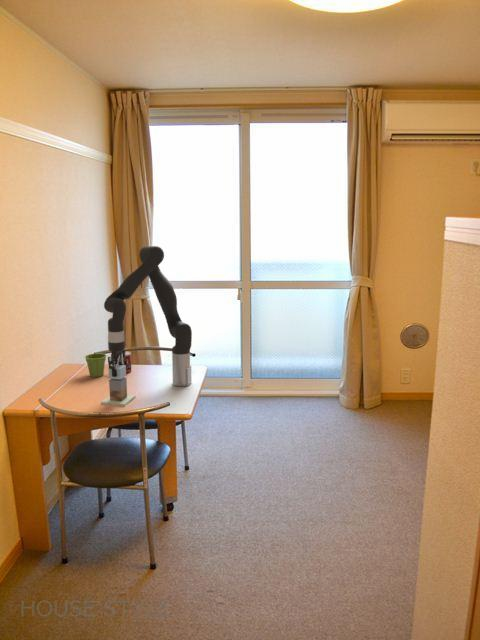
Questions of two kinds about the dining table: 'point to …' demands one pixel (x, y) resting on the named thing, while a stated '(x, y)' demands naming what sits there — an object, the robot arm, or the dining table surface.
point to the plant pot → (96, 364)
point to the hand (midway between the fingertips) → (117, 374)
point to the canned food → (127, 362)
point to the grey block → (117, 384)
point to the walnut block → (118, 395)
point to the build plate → (121, 403)
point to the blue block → (118, 372)
